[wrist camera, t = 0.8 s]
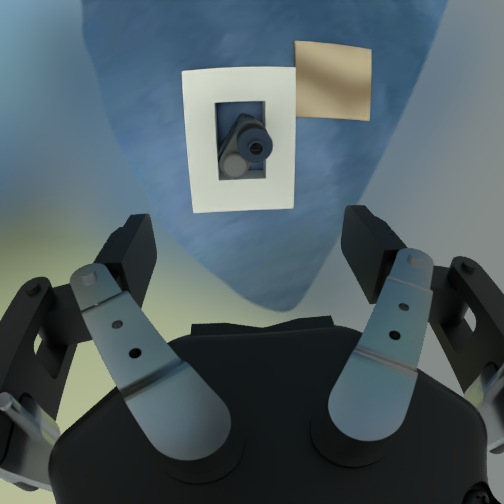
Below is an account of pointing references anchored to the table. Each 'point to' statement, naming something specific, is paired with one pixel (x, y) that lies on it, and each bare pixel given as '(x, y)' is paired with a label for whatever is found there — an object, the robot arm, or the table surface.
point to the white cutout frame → (206, 137)
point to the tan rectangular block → (332, 80)
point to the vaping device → (244, 146)
